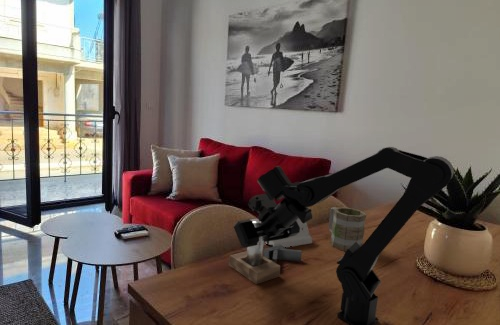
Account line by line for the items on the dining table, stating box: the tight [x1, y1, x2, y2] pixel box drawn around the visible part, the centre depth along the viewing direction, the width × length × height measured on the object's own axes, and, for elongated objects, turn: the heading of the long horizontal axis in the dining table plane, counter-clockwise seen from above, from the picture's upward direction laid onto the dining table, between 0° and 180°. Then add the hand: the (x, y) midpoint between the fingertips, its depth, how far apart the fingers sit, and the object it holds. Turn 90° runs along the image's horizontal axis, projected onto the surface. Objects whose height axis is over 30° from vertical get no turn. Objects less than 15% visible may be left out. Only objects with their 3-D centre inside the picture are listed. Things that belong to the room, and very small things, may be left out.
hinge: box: [264, 219, 313, 248], centre depth 114 cm, size 17×5×10 cm, turn 120°
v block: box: [263, 245, 303, 264], centre depth 99 cm, size 7×12×3 cm, turn 128°
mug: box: [328, 206, 367, 252], centre depth 117 cm, size 16×11×12 cm
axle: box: [246, 218, 265, 267], centre depth 91 cm, size 4×4×14 cm
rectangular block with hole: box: [228, 250, 281, 285], centre depth 91 cm, size 12×8×3 cm, turn 38°
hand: (252, 242), depth 92 cm, fingers open, 7 cm apart
